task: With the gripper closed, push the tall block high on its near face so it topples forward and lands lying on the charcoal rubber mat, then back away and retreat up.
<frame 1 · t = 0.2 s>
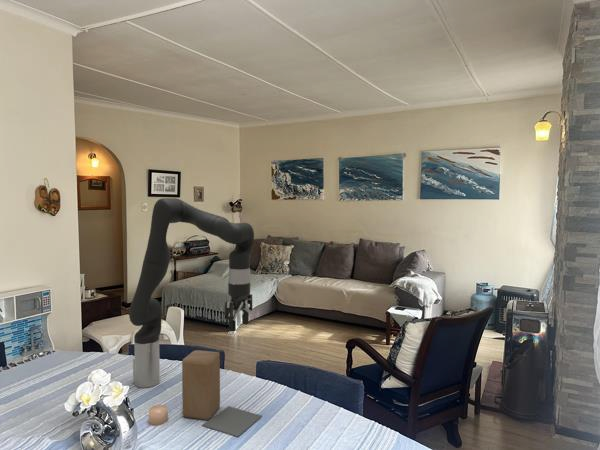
hand: (239, 327, 147), 29 cm above the table, tool pointing down, fingers open, 8 cm apart
block: (201, 412, 146), on the table
tan rounded lump: (158, 420, 141), on the table
mat: (232, 421, 140), on the table
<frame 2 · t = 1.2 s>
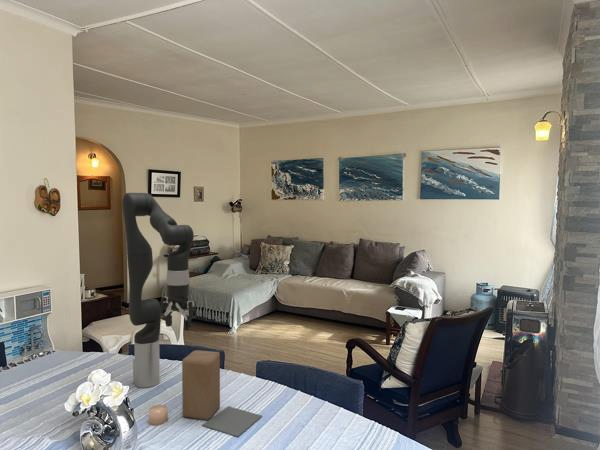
hand: (178, 328, 149), 28 cm above the table, tool pointing down, fingers open, 8 cm apart
nothing on the table moved.
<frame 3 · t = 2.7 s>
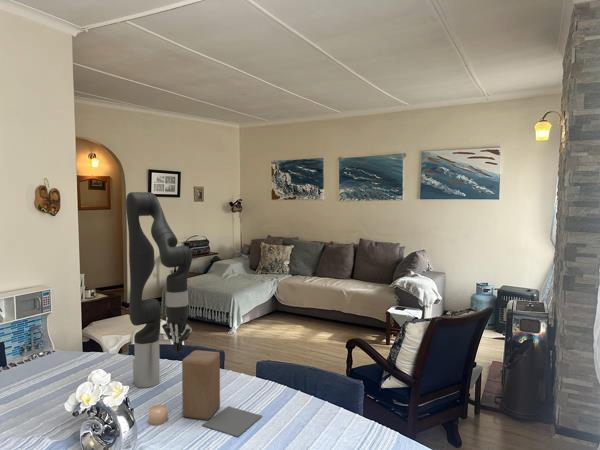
hand: (177, 352, 150), 19 cm above the table, tool pointing down, fingers closed
nothing on the table moved.
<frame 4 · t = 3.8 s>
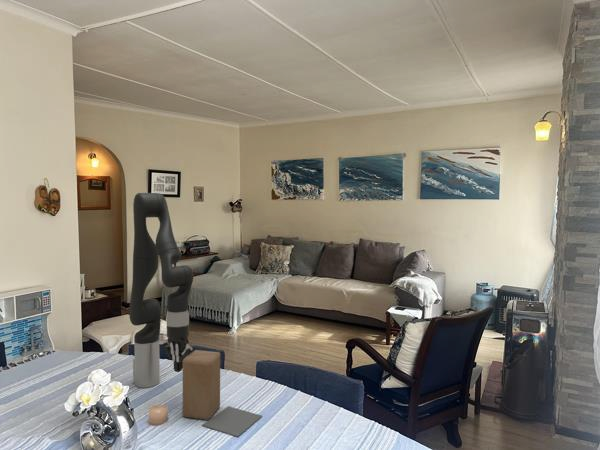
hand: (178, 371, 150), 12 cm above the table, tool pointing down, fingers closed
block: (201, 412, 146), on the table, touching hand
everything else where it was.
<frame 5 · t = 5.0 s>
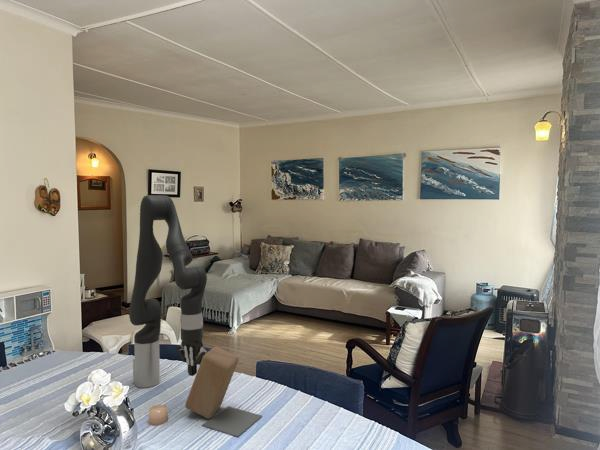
hand: (192, 374, 147), 12 cm above the table, tool pointing down, fingers closed
block: (202, 407, 146), point 2 cm above the table
everything else where it was.
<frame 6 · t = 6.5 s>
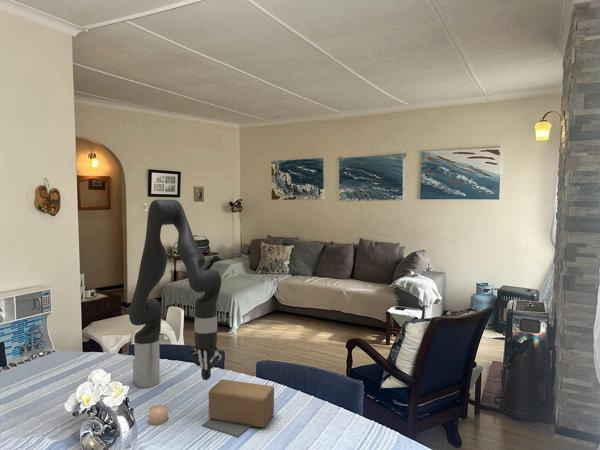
hand: (206, 379, 145), 12 cm above the table, tool pointing down, fingers closed
block: (214, 398, 145), point 5 cm above the table, touching mat
everything else where it was.
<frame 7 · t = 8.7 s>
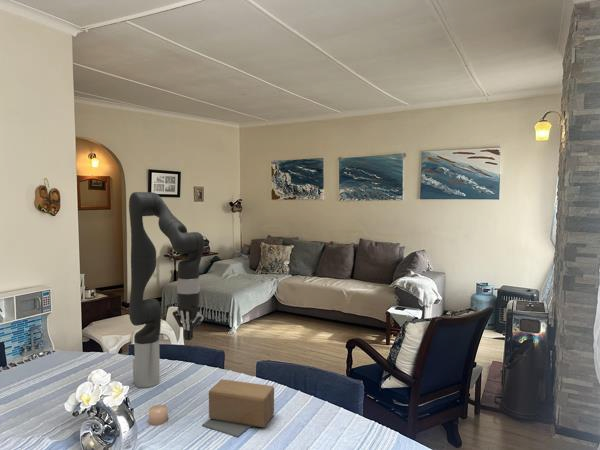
hand: (188, 339, 147), 24 cm above the table, tool pointing down, fingers closed
nothing on the table moved.
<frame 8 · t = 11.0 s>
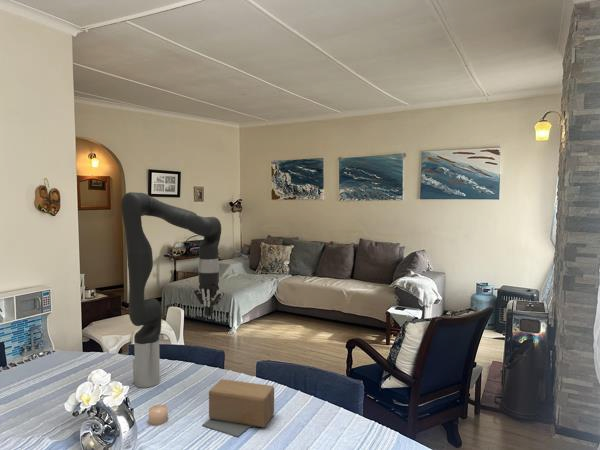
hand: (209, 315, 161), 29 cm above the table, tool pointing down, fingers closed
nothing on the table moved.
at the end: block tilted 90°; block 8.7 cm from the mat (horizontally); block moved 7.0 cm from its start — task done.
